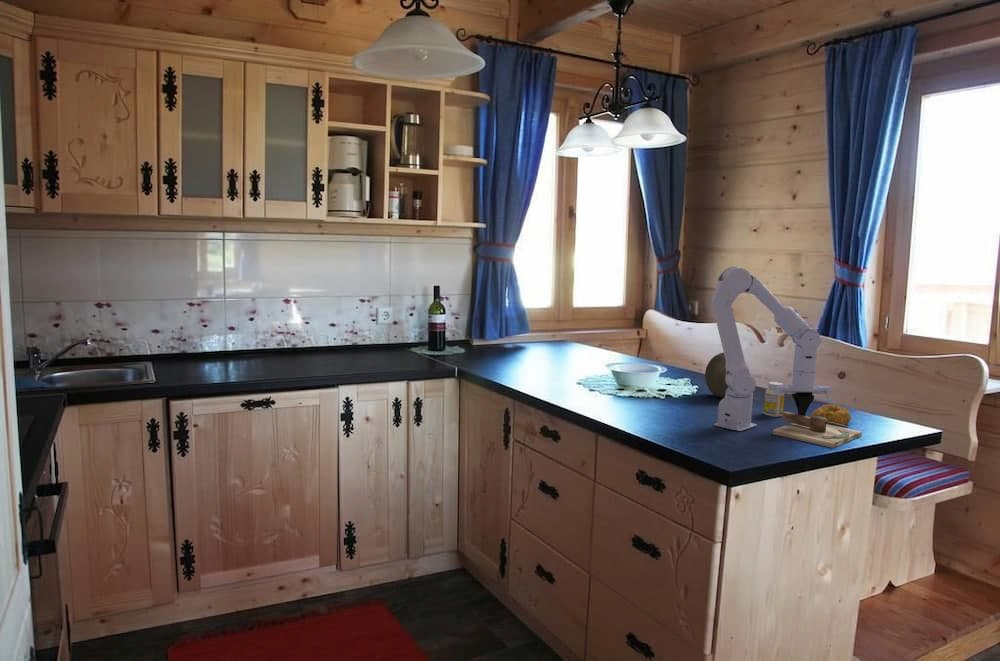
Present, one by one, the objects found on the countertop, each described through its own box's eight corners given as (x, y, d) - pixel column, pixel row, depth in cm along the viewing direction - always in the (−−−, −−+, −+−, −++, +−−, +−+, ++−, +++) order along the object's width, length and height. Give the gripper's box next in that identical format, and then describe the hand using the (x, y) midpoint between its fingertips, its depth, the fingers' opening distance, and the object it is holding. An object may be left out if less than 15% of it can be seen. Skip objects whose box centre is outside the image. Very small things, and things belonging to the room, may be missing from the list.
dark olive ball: (695, 397, 235) (698, 352, 233) (715, 391, 245) (718, 348, 243) (736, 405, 225) (739, 358, 223) (755, 398, 236) (758, 353, 234)
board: (833, 447, 181) (833, 442, 180) (772, 434, 192) (773, 428, 192) (861, 435, 193) (862, 430, 192) (803, 423, 204) (803, 418, 204)
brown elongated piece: (850, 435, 187) (851, 423, 187) (842, 437, 185) (843, 425, 184) (787, 420, 201) (788, 409, 201) (779, 422, 199) (780, 411, 199)
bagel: (803, 417, 212) (804, 402, 212) (840, 418, 212) (841, 403, 211) (817, 426, 202) (819, 410, 202) (856, 427, 202) (858, 411, 202)
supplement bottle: (768, 417, 211) (771, 385, 210) (760, 412, 216) (762, 381, 215) (786, 417, 212) (788, 385, 210) (777, 412, 217) (779, 381, 216)
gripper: (823, 368, 201) (819, 415, 202) (772, 368, 200) (769, 415, 202) (835, 373, 194) (832, 422, 195) (783, 372, 193) (780, 422, 195)
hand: (801, 419), depth 198 cm, fingers closed, pressing on brown elongated piece
